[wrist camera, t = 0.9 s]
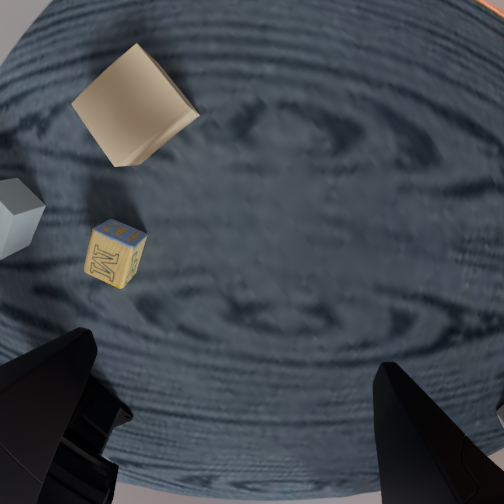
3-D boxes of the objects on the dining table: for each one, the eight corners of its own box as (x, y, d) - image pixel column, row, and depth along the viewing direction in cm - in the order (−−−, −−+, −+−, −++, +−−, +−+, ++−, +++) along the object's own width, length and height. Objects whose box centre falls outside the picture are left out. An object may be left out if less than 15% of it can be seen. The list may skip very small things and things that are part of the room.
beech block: (140, 164, 18) (114, 166, 15) (101, 111, 17) (71, 103, 13) (200, 115, 18) (186, 104, 14) (157, 62, 16) (136, 43, 13)
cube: (30, 245, 20) (-1, 260, 16) (3, 216, 19) (-28, 227, 15) (46, 205, 19) (13, 215, 15) (18, 177, 18) (-15, 183, 14)
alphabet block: (149, 234, 20) (133, 246, 17) (137, 273, 21) (121, 291, 18) (111, 217, 19) (90, 227, 16) (101, 256, 20) (81, 271, 17)
